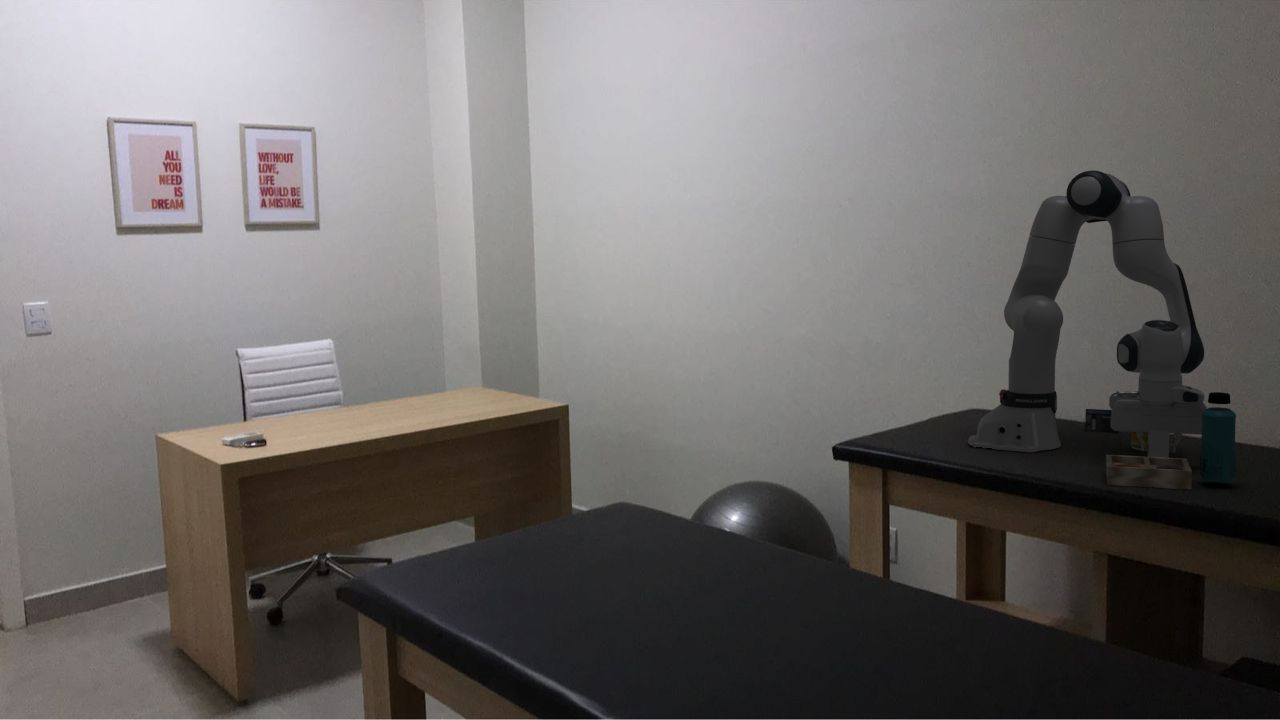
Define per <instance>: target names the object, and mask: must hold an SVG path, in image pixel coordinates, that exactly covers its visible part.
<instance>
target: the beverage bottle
mask: <svg viewBox="0 0 1280 720" xmlns="http://www.w3.org/2000/svg"><path fill="white" fill-rule="evenodd" d="M1207 403H1208V404H1213V405H1214V404H1215V405H1230V404H1231V394H1230V393H1229V392H1219V391H1218V392H1214V391H1213V392H1209V393H1208V397H1207ZM1236 419H1237V414H1236V413H1235V412H1234V410H1233V409H1231V408H1228V407H1218V406H1217V407H1216V406H1214V407H1213V406H1211V407H1207V409H1206V410H1205V411H1204V412H1203V413H1202V430H1201V431H1202V434H1201V436H1200V437H1201V438H1200V439H1201V445H1200V454H1201V455H1200V456H1199V462H1200V463H1199V466H1200V468H1199V470H1200V473H1199V475H1200V476H1201V479H1202V480H1205V481H1207V482H1208V481H1209V482H1215V483H1216V482H1217V483H1230V482H1233V481H1234V480H1235V473H1236V453H1237V452H1236V444H1237V443H1236V421H1237V420H1236Z"/></svg>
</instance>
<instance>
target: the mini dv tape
mask: <svg viewBox="0 0 1280 720" xmlns="http://www.w3.org/2000/svg"><path fill="white" fill-rule="evenodd" d="M1111 413H1112V409H1097V408H1085V420H1084V422H1085V424H1084V425H1085V426H1084V431H1085V432H1093V433H1094V432H1095V433H1107V434H1108V433H1111V434H1119V433H1120V431H1114V430H1113V429H1112V428H1111V426H1110V422H1111Z"/></svg>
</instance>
